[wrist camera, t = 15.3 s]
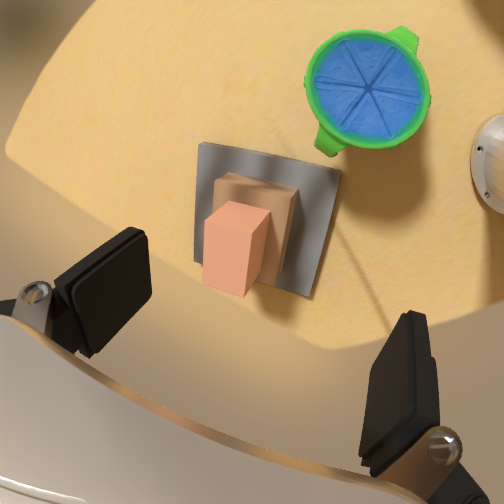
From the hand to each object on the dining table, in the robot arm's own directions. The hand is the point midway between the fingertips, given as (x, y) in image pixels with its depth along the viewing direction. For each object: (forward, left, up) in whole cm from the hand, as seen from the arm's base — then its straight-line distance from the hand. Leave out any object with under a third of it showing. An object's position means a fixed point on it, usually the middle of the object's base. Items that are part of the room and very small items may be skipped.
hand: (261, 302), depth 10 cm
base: (+8, +11, -28) cm, 31 cm away
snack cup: (-2, -8, -28) cm, 30 cm away
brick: (+8, +11, -23) cm, 27 cm away
